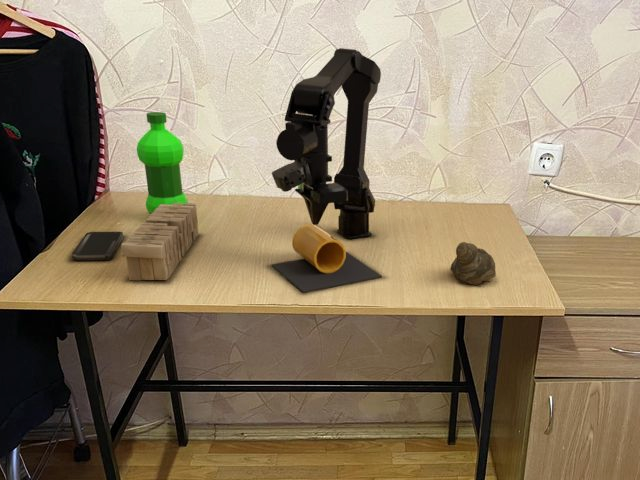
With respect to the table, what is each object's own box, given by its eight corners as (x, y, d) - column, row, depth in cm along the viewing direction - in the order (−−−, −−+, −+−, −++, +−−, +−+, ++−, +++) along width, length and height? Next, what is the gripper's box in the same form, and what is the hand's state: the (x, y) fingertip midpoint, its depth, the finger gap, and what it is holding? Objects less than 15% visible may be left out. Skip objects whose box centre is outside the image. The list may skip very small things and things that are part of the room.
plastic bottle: (144, 226, 171) (129, 117, 159) (149, 212, 180) (135, 109, 168) (189, 225, 173) (177, 118, 161) (191, 211, 182) (180, 109, 170)
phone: (70, 255, 149) (87, 231, 162) (71, 260, 149) (88, 236, 162) (110, 255, 150) (124, 231, 163) (111, 260, 151) (125, 236, 164)
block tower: (166, 237, 167) (124, 282, 141) (161, 202, 164) (118, 241, 137) (200, 238, 168) (165, 284, 142) (197, 203, 164) (160, 243, 138)
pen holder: (323, 222, 157) (346, 238, 149) (322, 254, 161) (345, 270, 153) (292, 225, 153) (314, 242, 146) (292, 258, 157) (314, 275, 149)
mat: (345, 253, 163) (345, 251, 163) (381, 277, 151) (381, 275, 151) (271, 266, 153) (271, 264, 153) (303, 293, 142) (303, 291, 142)
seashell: (433, 243, 154) (445, 259, 145) (479, 213, 153) (494, 228, 145) (458, 283, 160) (471, 301, 151) (502, 255, 159) (518, 271, 150)
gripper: (257, 142, 147) (261, 216, 154) (296, 164, 133) (298, 243, 141) (307, 139, 152) (309, 210, 160) (349, 159, 139) (349, 235, 146)
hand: (315, 224), depth 152 cm, fingers closed
